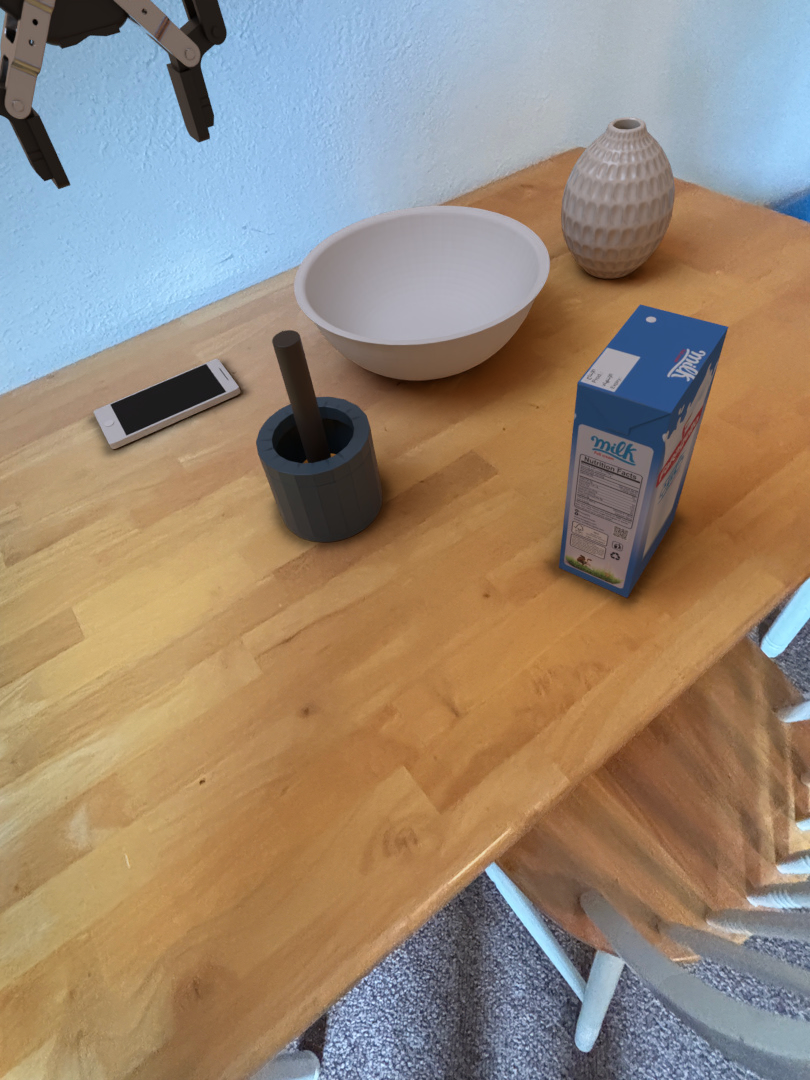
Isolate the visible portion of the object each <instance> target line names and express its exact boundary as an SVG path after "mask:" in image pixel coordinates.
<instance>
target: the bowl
mask: <svg viewBox="0 0 810 1080" xmlns="http://www.w3.org/2000/svg"><path fill="white" fill-rule="evenodd" d="M550 269H551V260H550V254H549V251H548V248H547V247H546V244H545V243H544V241H543V240H542V238H541V237H540V236H539V235H538V234H536V232H535V231H533V230H532V228H529V226H527V225H525V224H524V223H522V222H520V221H519V220H517V219H514V218H512V217H510V216H507V215H505V214H501V213H498V212H496V211H491V210H487V209H483V208H477V207H470V206H461V205H425V206H423V205H422V206H415V207H406V208H402V209H401V208H400V209H397V210H396V209H395V210H391V211H387V212H383V213H380V214H375V215H372V216H370V217H366V218H363V219H361V220H358V221H356V222H354V223H351V224H349V225H347V226H345V227H342V228H341V229H339V230H337V231H335V232H334V233H332V234H331V235H329V236H327V237H326V238H325V239H323V240H322V241H320V242H319V243H318V244H317V245H316V246H315V247H313V248H312V249H311V250H310V251H309V253H308V254H307V255H306V256H305V257H304V258H303V260H302V261H301V263H300V265H299V267H298V268H297V271H296V274H295V277H294V281H293V293H294V297H295V300H296V303H297V304H298V307H299V308H300V310H301V311H302V312H303V313H304V315H305V316H306V317H307V318H308V319H309V320H310V321H312V322H313V323H314V324H315V325H314V326H316V327H317V329H318V330H319V332H320V333H321V334H322V336H323V337H324V338H325V339H326V340H327V341H328V343H329V344H330V345H332V346H333V348H335V350H337V351H338V352H339V353H340V354H341V355H343V357H345V358H346V359H348V360H349V361H350V362H352V363H354V364H355V365H356V366H357V365H358V366H359V367H360V368H362V369H365V370H367V371H369V372H372V373H374V374H376V375H380V376H383V377H386V378H391V379H394V380H395V379H396V380H403V381H430V380H432V381H433V380H437V379H443V378H448V377H452V376H456V375H458V374H461V373H464V372H467V371H468V370H471V369H472V368H474V367H477V366H478V365H479V366H480V364H482V363H484V362H485V361H487V360H488V359H489V358H491V357H492V356H494V355H496V353H497V352H498V351H500V350H501V349H502V348H503V347H504V346H505V345H506V344H507V343H508V342H509V341H510V340H511V339H512V338H513V336H514V335H515V334H516V333H517V332H518V330H519V329H520V327H521V326H522V324H523V323H524V321H525V319H526V318H527V316H528V315H529V313H530V311H531V309H532V306H533V304H534V303H535V300H536V298H537V296H538V295H540V292H541V291H542V289H543V288H544V286H545V284H546V282H547V281H548V277H549V274H550Z"/></svg>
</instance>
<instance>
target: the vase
mask: <svg viewBox="0 0 810 1080" xmlns="http://www.w3.org/2000/svg"><path fill="white" fill-rule="evenodd" d="M675 194H676V187H675V179H674V174H673V170H672V166H671V163H670V160H669V157H668V155H667V154H666V152H665V151H664V149H663V147H662V146H661V144H660V143H659V142H658V140H657V139H656V138H655V137H654V136H653V135H652V134H651V133H650V131H648V129H647V124H646V122H645V121H644V120H643V119H641V118H638V117H632V116H631V117H630V116H626V117H625V116H623V117H619V118H615V119H613V120H611V121H610V122H609V123H608V124H607V126H606V128H605V131H604V132H602V134H600V135H599V136H598V137H597V138H595V139H594V140H593V141H592V142H591V143H590V144H589V145H588V146H587V147H586V148H585V150H584V151H583V152H582V153H581V154H580V155H579V157H578V158H577V160H576V162H575V164H574V165H573V167H572V169H571V171H570V172H569V175H568V177H567V180H566V184H565V186H564V189H563V194H562V198H561V207H560V208H561V209H560V223H561V224H560V226H561V230H562V235H563V239H564V242H565V244H566V247H567V248H568V252H570V254H571V256H572V258H573V259H574V261H575V262H576V263H577V264H578V265H579V266H580V267H581V268H582V269H583V270H584V271H585V272H586V273H587V274H588V275H590V276H593V277H596V278H597V279H602V280H603V279H605V280H614V279H620V278H623V277H626V276H629V274H631V273H633V272H634V271H636V270H637V269H638V268H640V267H641V266H642V265H644V263H646V261H647V260H648V259H649V258H650V257H651V256H652V255H653V254H654V253H655V251H657V248H659V246H660V244H661V243H662V242H663V240H664V238H665V235H666V234H667V231H668V229H669V226H670V223H671V220H672V218H673V217H672V216H673V211H674V204H675V198H676V197H675V196H676V195H675Z"/></svg>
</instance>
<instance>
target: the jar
mask: <svg viewBox="0 0 810 1080" xmlns="http://www.w3.org/2000/svg"><path fill="white" fill-rule="evenodd" d="M316 399H317V403H318V407H319V411H320V415H321V419H322V423H323V427H324V430H325V434H326V438H327V442H328V446H329V450H330V453H331V454H336V455H334V456H332V457H330V458H328V459H326V460H323V461H319V462H315V463H303V462H305V461H306V460H307V458H306V455H305V451H304V448H303V445H302V441H301V438H300V435H299V431H298V428H297V424H296V421H295V418H294V414H293V411H292V408H291V404H290V403H289V404H287V405H285V406H283V407H281V408H279V409H278V410H276V412H274V413H273V414H271V415H270V416H269V417H268V418H267V419H266V420H265V421H264V423H263V424H262V425H261V427H260V428H259V430H258V433H257V436H256V441H255V444H256V445H255V446H256V451H257V455H258V458H259V460H260V463H261V466H262V469H263V471H264V474H265V477H266V480H267V482H268V485H269V488H270V490H271V494H272V497H273V499H274V501H275V504H276V507H277V509H278V513H279V515H280V517H281V518H282V521H283V523H284V525H285V526H286V528H287V529H288V530H289V531H290V532H292V534H294V535H296V536H297V537H299V538H301V539H303V540H306V541H309V542H315V543H332V542H338V541H343V540H346V539H348V538H351V537H353V536H355V535H357V534H359V533H361V532H362V531H364V530H365V529H366V528H367V527H369V526H370V525H371V524H372V523H373V522H374V521H375V519H376V518H377V516H378V515H379V513H380V511H381V508H382V505H383V497H384V496H383V487H382V482H381V481H382V480H381V475H380V471H379V466H378V461H377V460H378V459H377V455H376V451H375V450H376V449H375V445H374V439H373V434H372V429H371V424H370V421H369V419H368V416H367V414H366V413H365V412H364V411H363V410H362V409H361V408H360V406H359V405H358V404H356V403H353V402H351V401H349V400H347V399H344V398H340V397H335V396H316Z"/></svg>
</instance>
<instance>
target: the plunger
mask: <svg viewBox="0 0 810 1080" xmlns="http://www.w3.org/2000/svg"><path fill="white" fill-rule="evenodd" d="M301 337H302V336H301V335H300V332H298V331H297V330H292V329H288V330H287V329H286V330H282V331H279V332H278V333H276V334H275V335H274V336H273V337H272V339H271V343H272V346H273V350H274V354H275V357H276V360H277V364H278V366H279V370H280V373H281V377H282V380H283V383H284V387H285V391H286V394H287V396H288V401H289V404H291V408H292V411H293V414H294V418H295V421H296V424H297V428H298V431H299V435H300V438H301V441H302V445H303V448H304V451H305V455H306V458H307V460H306V461H305V462H303V463H315V462H319V461H323V460H326V459H328V458H330V457H332V456H334V455H336V454H331V453H330V450H329V446H328V442H327V438H326V434H325V430H324V427H323V423H322V419H321V415H320V411H319V407H318V403H317V399H316V397H317V396H316V393H315V389H314V383H313V381H312V376H311V371H310V369H309V365H308V361H307V356H306V354H305V350H304V345H303V342H302V341H303V340H302V338H301Z"/></svg>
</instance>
